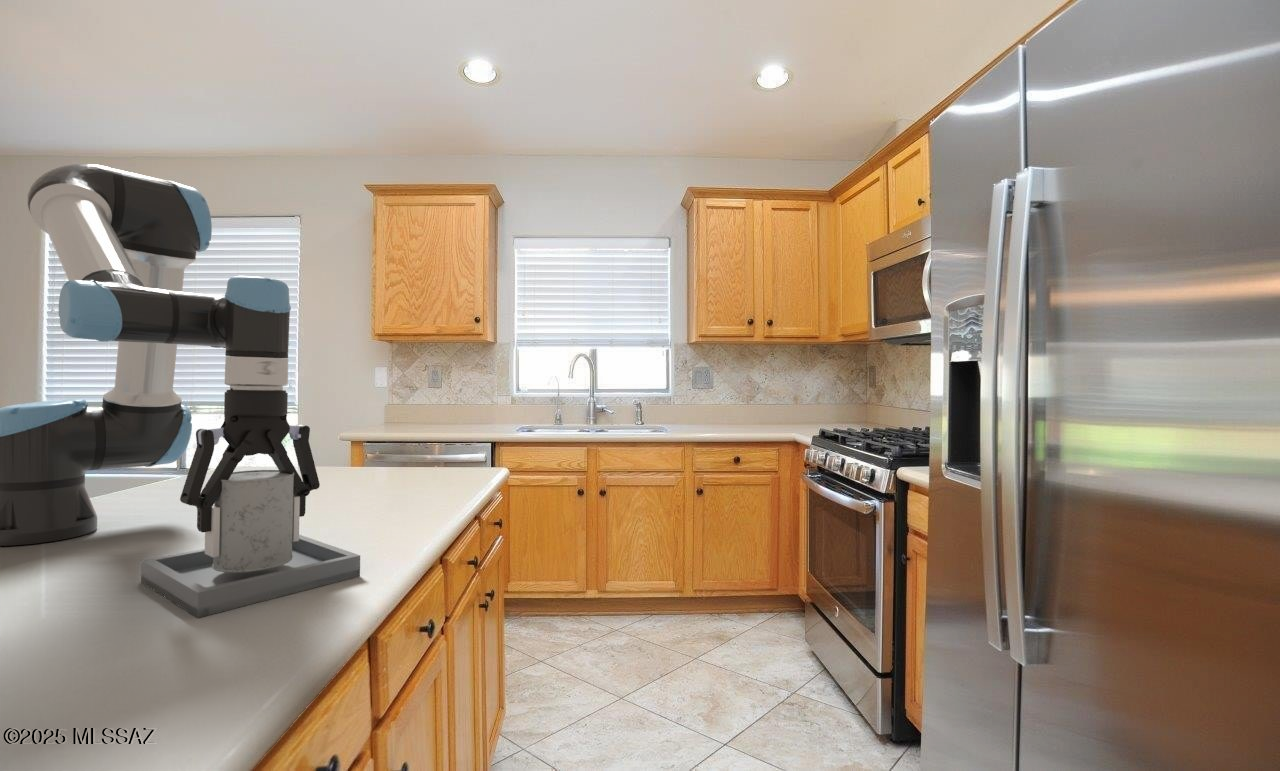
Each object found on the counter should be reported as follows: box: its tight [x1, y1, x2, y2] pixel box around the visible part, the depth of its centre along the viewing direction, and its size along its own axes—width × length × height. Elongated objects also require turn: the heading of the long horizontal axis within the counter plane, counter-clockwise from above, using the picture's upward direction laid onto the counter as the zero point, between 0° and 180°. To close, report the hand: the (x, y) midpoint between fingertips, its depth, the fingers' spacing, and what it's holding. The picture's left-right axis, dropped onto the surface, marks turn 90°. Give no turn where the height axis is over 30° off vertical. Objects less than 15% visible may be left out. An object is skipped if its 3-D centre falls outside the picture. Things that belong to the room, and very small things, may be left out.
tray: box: [140, 534, 361, 619], centre depth 85 cm, size 20×20×3 cm
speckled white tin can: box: [212, 469, 294, 573], centre depth 85 cm, size 10×10×12 cm
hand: (253, 546), depth 85 cm, fingers closed on speckled white tin can, 9 cm apart
